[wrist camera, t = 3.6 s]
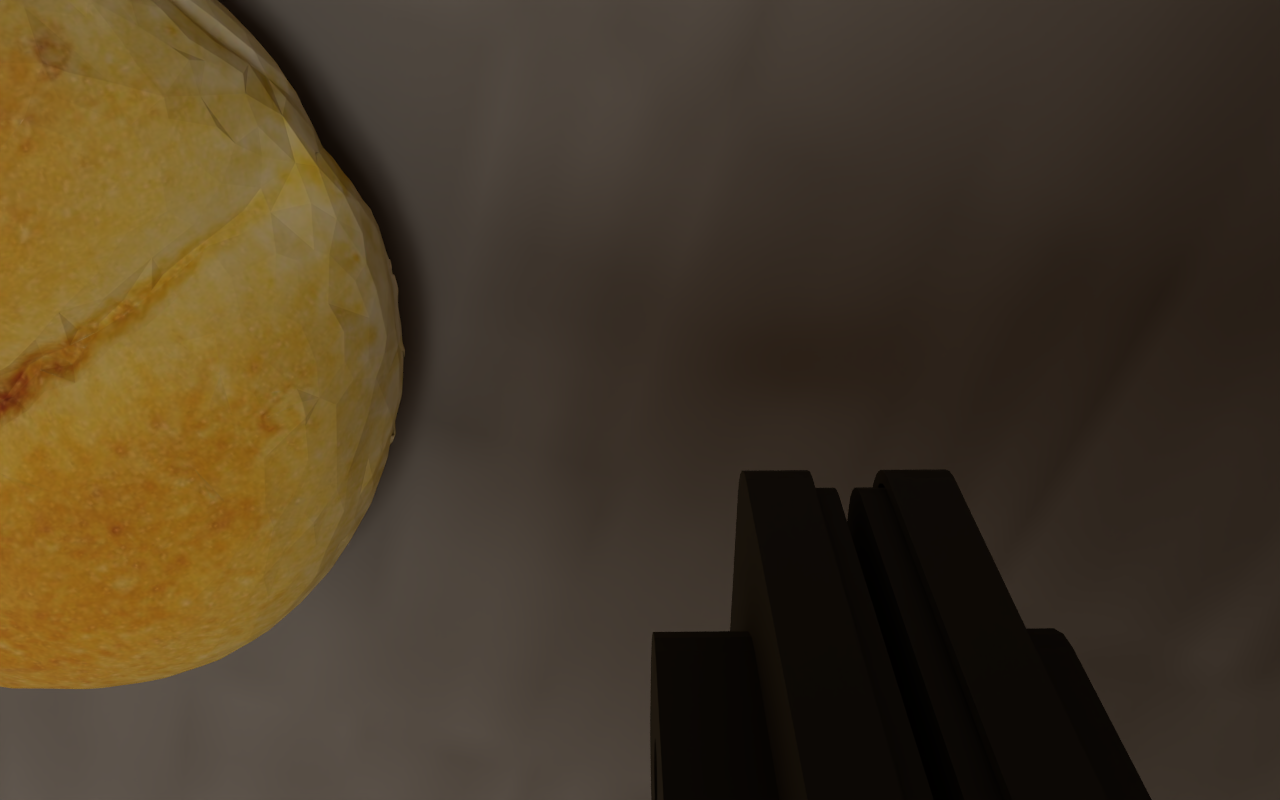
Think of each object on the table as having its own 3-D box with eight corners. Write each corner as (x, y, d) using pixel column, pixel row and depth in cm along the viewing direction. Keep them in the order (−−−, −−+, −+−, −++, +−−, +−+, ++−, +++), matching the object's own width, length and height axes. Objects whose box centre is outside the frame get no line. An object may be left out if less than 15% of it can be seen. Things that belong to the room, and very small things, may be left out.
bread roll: (21, 648, 17) (-139, 879, 14) (-462, 70, 13) (-857, 191, 10) (541, 474, 16) (507, 686, 12) (168, -242, 12) (-37, -227, 8)
